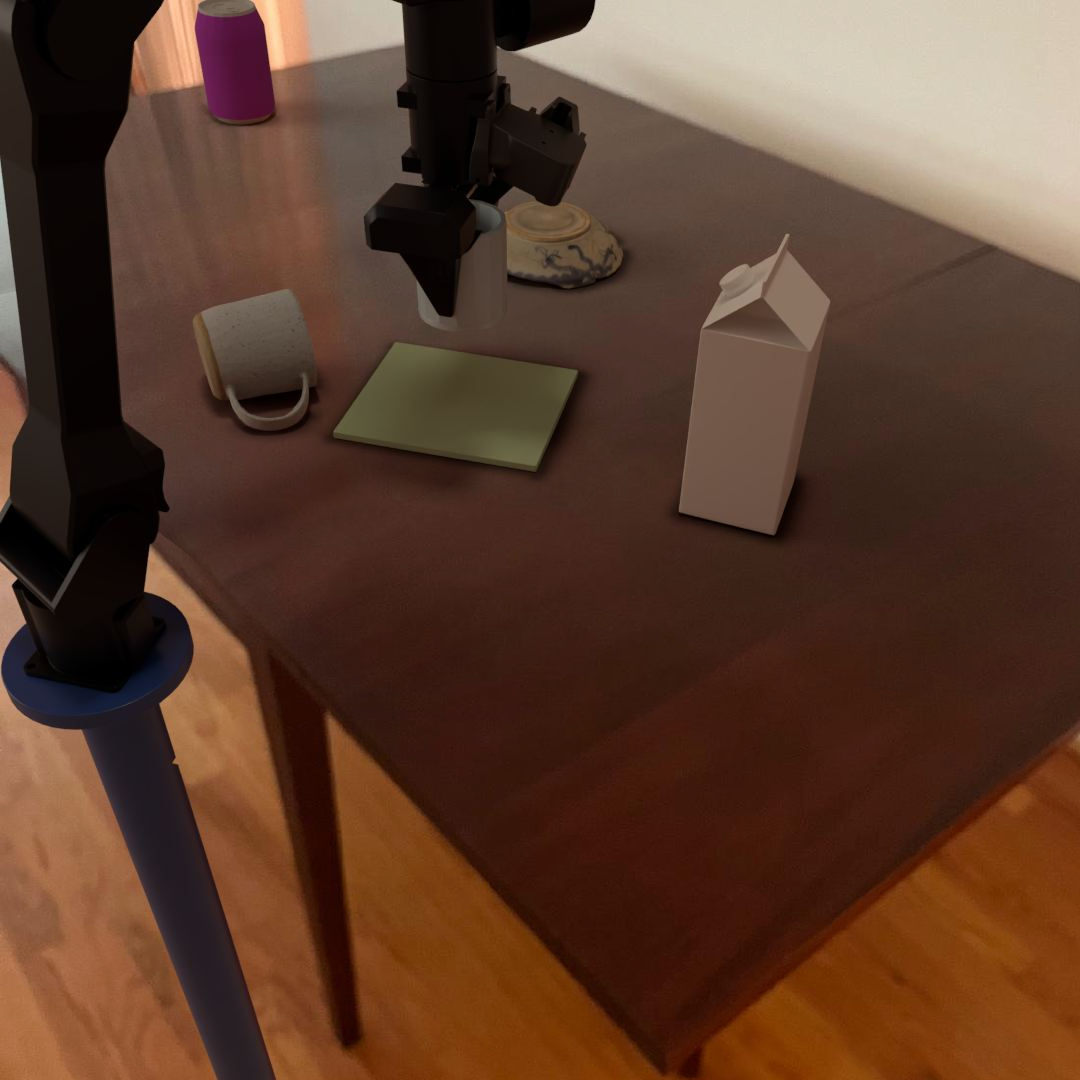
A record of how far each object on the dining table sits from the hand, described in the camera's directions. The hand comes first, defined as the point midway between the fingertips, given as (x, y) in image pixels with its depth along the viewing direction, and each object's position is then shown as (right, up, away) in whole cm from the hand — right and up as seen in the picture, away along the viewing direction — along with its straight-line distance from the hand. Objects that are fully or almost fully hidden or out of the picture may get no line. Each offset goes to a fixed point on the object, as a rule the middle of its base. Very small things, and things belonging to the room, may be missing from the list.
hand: (460, 293), depth 82 cm
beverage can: (-32, +35, +53) cm, 71 cm away
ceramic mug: (-16, -6, +9) cm, 20 cm away
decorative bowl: (+5, +11, +30) cm, 32 cm away
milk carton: (+20, -15, +2) cm, 25 cm away
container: (0, -1, +1) cm, 1 cm away
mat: (-1, -7, +9) cm, 11 cm away
